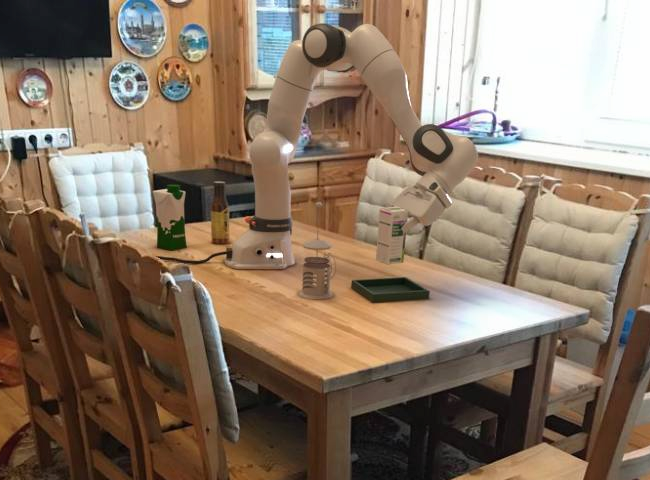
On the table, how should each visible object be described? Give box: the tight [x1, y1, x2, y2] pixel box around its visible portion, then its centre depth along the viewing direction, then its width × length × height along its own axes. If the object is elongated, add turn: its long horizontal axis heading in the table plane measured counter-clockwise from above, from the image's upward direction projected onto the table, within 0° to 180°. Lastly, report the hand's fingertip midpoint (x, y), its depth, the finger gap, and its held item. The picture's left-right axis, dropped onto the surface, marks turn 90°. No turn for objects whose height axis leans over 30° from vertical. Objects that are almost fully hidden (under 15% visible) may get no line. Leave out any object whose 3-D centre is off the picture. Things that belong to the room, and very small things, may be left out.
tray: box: [350, 276, 431, 304], centre depth 235 cm, size 18×16×2 cm
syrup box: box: [375, 206, 409, 266], centre depth 227 cm, size 6×6×14 cm
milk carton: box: [152, 183, 188, 251], centre depth 270 cm, size 9×9×20 cm
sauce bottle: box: [210, 180, 231, 245], centre depth 279 cm, size 7×6×20 cm
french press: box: [298, 201, 337, 300], centre depth 225 cm, size 10×12×25 cm
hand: (396, 228), depth 226 cm, fingers closed on syrup box, 6 cm apart
